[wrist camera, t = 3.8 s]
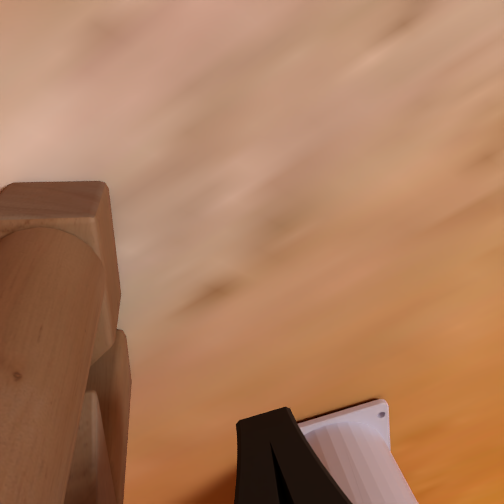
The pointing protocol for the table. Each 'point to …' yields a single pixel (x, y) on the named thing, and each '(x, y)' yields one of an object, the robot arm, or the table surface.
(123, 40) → the table surface
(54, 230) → the wooden block
